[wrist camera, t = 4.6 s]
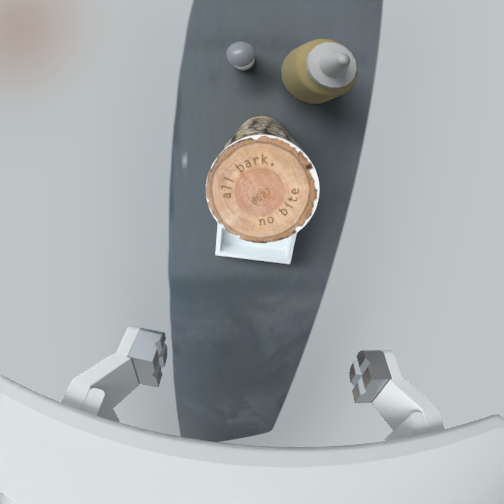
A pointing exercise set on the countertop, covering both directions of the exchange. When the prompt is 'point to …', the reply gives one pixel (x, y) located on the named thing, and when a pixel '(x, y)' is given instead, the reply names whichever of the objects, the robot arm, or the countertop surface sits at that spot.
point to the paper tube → (262, 183)
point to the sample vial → (241, 55)
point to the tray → (254, 248)
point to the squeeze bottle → (319, 71)
